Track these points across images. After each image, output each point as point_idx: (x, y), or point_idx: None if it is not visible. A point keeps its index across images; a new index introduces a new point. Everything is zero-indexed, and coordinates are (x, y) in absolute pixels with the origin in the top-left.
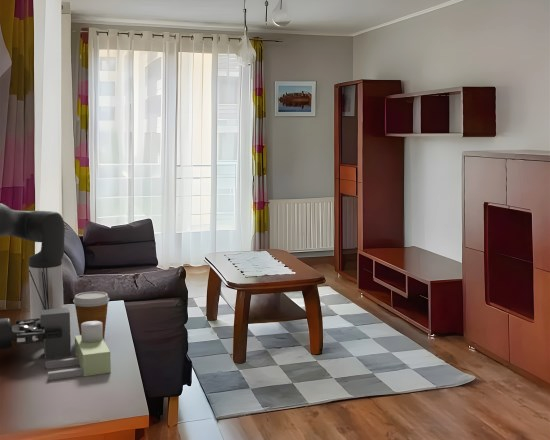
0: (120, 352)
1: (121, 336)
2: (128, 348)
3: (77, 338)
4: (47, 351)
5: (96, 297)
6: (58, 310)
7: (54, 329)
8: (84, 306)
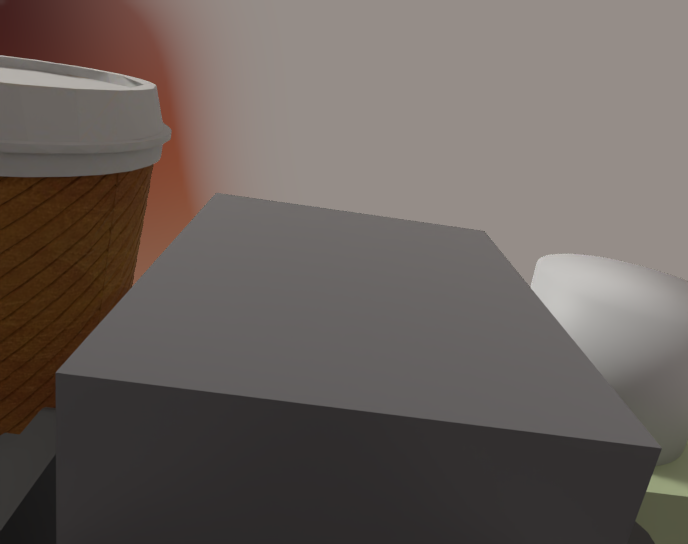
0: None
1: None
2: None
3: None
4: None
5: (77, 86)
6: (325, 246)
7: (630, 540)
8: (102, 172)
